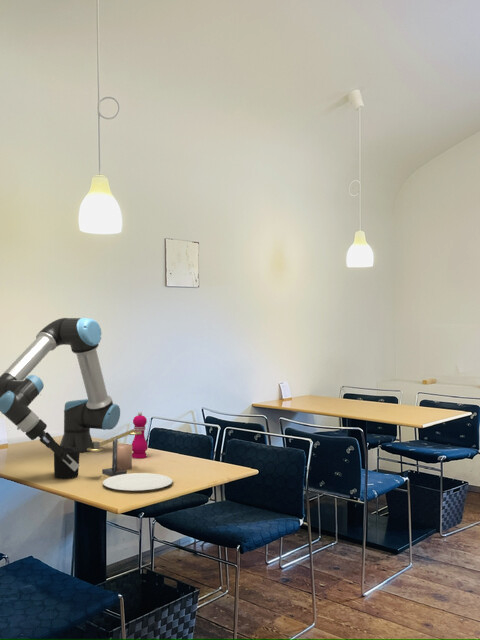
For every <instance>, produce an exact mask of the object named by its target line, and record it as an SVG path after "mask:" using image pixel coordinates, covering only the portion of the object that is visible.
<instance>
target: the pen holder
mask: <svg viewBox="0 0 480 640" xmlns="http://www.w3.org/2000/svg"><path fill="white" fill-rule="evenodd" d="M61 449H62V450H63V451H64V452H65V453H66V454H68V455H69V456H70V457H71V458H72V459H73V460H74V461H75V462H76V463H77V464H78V465H80V456H81V455H80V454H81V452H80V450H78V451H76V450H74V449H71V448H61ZM79 468H80V466H79V467H78V468H77V470H76V471H73V470H72V469H71V468H70V467H69V466H68V465H67V464H66V463H65V462H64V461H63V460H62V461H60V458H59V457H58V456H57V455H56V454H55V453H54V452H53V472H54V473H53V474H54V477H55V479H57V480H58V479H59V480H69V479H75V478H77V477H78V476H79Z"/></svg>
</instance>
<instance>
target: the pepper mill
mask: <svg viewBox="0 0 480 640" xmlns="http://www.w3.org/2000/svg"><path fill="white" fill-rule="evenodd" d="M147 423H148V421H147V418H146V416H145V415H143V413H142V412H141V411H139V412H138V413H137V415H135V416H134V417H133V420H132V424H133V425H134V427H133V429H135V431H141V432H142V434H139V435H134V438H133V440H132V442H131V445H132V459H136V460H138V459H141V460H142V459H145V458H147V452H146V451H148V447H149V445H148V443H147V439H146V437H145V430H146V425H147Z"/></svg>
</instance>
